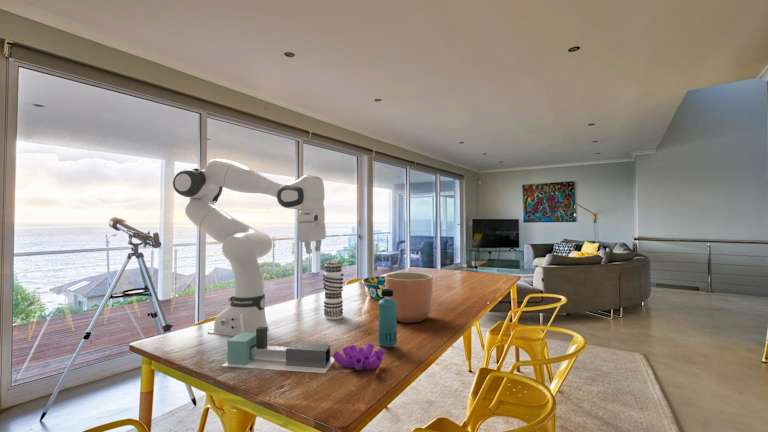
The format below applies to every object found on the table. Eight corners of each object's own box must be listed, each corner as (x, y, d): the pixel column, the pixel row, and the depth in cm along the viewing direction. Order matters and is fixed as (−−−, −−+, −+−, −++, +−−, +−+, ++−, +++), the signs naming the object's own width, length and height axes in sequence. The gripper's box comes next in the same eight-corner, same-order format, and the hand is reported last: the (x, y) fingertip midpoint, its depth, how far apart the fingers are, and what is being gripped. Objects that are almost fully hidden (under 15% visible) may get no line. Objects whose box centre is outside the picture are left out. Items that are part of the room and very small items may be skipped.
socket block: (227, 363, 108) (227, 340, 108) (242, 353, 115) (242, 332, 115) (245, 365, 107) (245, 341, 107) (259, 354, 114) (259, 332, 114)
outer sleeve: (286, 365, 106) (286, 348, 106) (293, 358, 111) (293, 342, 111) (325, 368, 104) (324, 350, 104) (330, 361, 109) (330, 344, 109)
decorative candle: (333, 312, 168) (332, 259, 168) (348, 316, 162) (347, 260, 162) (318, 317, 160) (318, 261, 160) (333, 320, 155) (333, 263, 155)
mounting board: (221, 369, 106) (221, 365, 106) (242, 354, 117) (242, 351, 117) (324, 376, 101) (324, 372, 101) (336, 360, 112) (336, 357, 112)
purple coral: (349, 371, 112) (362, 341, 116) (384, 386, 102) (397, 353, 106) (326, 357, 106) (341, 327, 110) (361, 372, 95) (376, 338, 100)
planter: (440, 317, 160) (440, 274, 160) (419, 329, 142) (419, 281, 142) (400, 310, 171) (400, 270, 171) (376, 321, 153) (375, 277, 153)
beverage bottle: (383, 352, 118) (383, 292, 118) (374, 346, 124) (374, 288, 124) (400, 349, 121) (400, 290, 121) (391, 343, 127) (390, 286, 127)
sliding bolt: (240, 357, 110) (240, 328, 110) (245, 354, 113) (245, 325, 113) (302, 361, 106) (302, 331, 106) (306, 357, 109) (306, 328, 109)
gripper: (314, 216, 151) (315, 249, 151) (294, 217, 130) (295, 255, 130) (329, 216, 150) (329, 250, 150) (311, 216, 129) (311, 255, 129)
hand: (313, 252), depth 140 cm, fingers open, 8 cm apart
